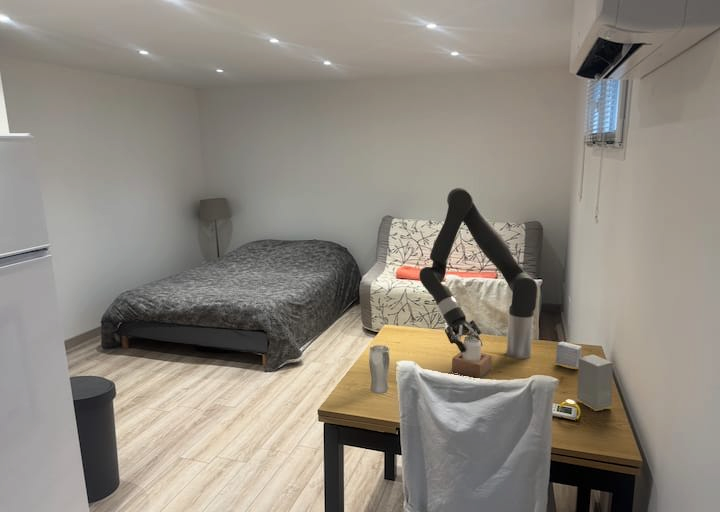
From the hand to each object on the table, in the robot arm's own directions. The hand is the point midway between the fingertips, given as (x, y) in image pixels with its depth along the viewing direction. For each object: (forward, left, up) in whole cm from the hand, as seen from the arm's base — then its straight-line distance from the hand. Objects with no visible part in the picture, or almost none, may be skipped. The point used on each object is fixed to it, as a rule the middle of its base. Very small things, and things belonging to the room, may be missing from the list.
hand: (472, 349), depth 185 cm
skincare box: (+1, +42, -9) cm, 43 cm away
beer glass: (+32, -20, -9) cm, 39 cm away
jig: (0, 0, -9) cm, 9 cm away
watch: (+14, +38, -9) cm, 41 cm away
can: (0, 0, -8) cm, 8 cm away
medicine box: (-26, +28, -9) cm, 39 cm away
